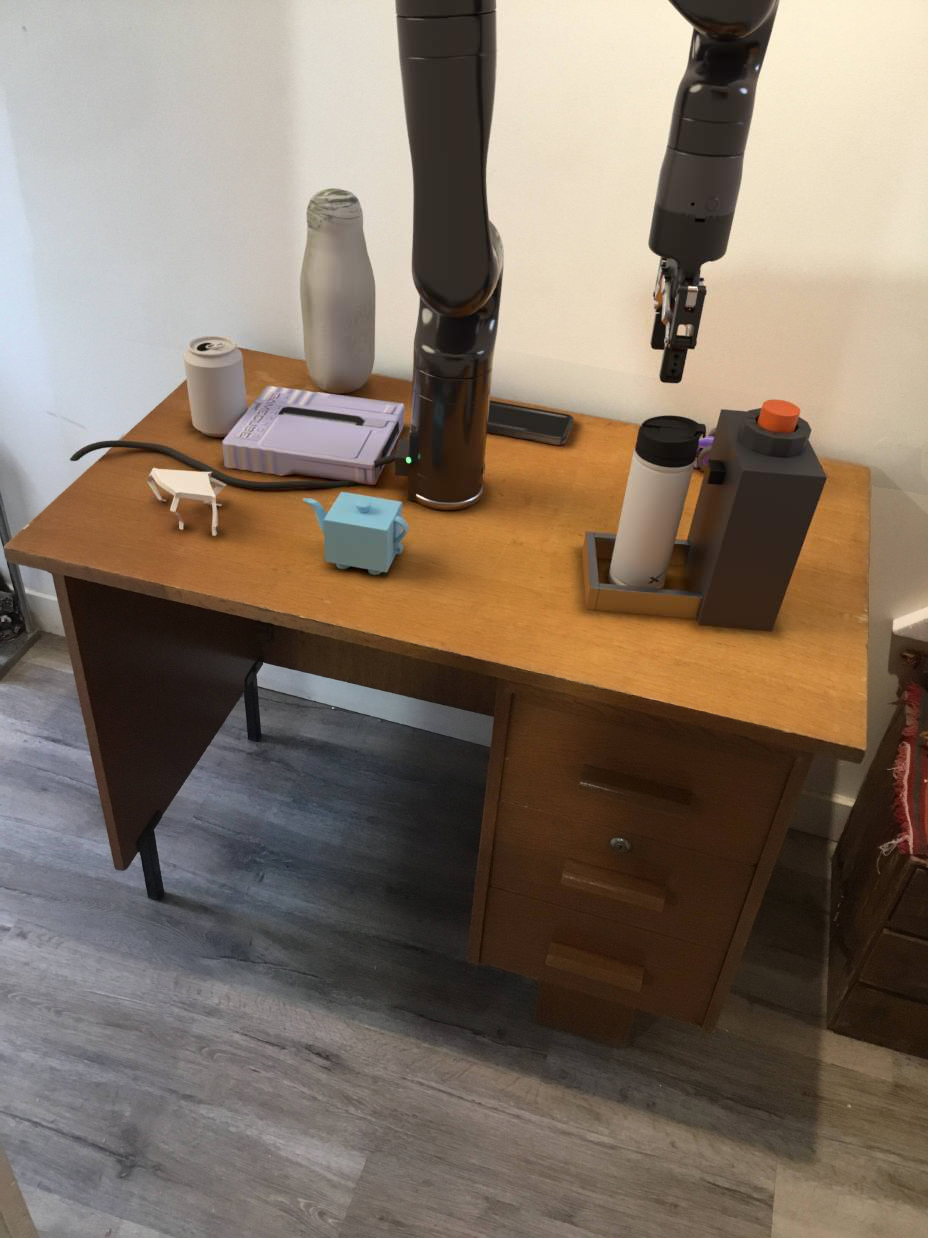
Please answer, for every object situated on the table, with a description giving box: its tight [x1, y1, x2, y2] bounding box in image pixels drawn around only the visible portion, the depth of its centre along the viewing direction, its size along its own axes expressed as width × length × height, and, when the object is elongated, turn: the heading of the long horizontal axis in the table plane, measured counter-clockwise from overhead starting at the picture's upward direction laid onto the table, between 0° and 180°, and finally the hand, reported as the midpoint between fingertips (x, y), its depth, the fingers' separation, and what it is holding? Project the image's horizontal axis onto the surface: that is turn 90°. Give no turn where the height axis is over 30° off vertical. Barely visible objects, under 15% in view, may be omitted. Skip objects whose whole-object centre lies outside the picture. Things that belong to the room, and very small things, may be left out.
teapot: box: [302, 491, 409, 576], centre depth 101 cm, size 12×6×8 cm, turn 78°
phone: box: [487, 399, 574, 446], centre depth 131 cm, size 8×1×15 cm
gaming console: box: [221, 385, 405, 486], centre depth 122 cm, size 18×4×20 cm
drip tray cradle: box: [581, 459, 725, 620], centre depth 98 cm, size 12×11×16 cm
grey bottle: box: [299, 188, 377, 395], centre depth 128 cm, size 10×10×28 cm
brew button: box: [757, 399, 801, 433], centre depth 89 cm, size 4×4×2 cm
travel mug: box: [607, 414, 707, 589], centre depth 97 cm, size 6×7×20 cm
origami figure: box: [146, 467, 228, 537], centre depth 107 cm, size 12×8×5 cm
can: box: [183, 334, 248, 438], centre depth 122 cm, size 8×8×12 cm
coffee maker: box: [684, 407, 828, 632], centre depth 96 cm, size 8×13×21 cm, turn 177°
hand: (664, 364), depth 96 cm, fingers open, 8 cm apart
